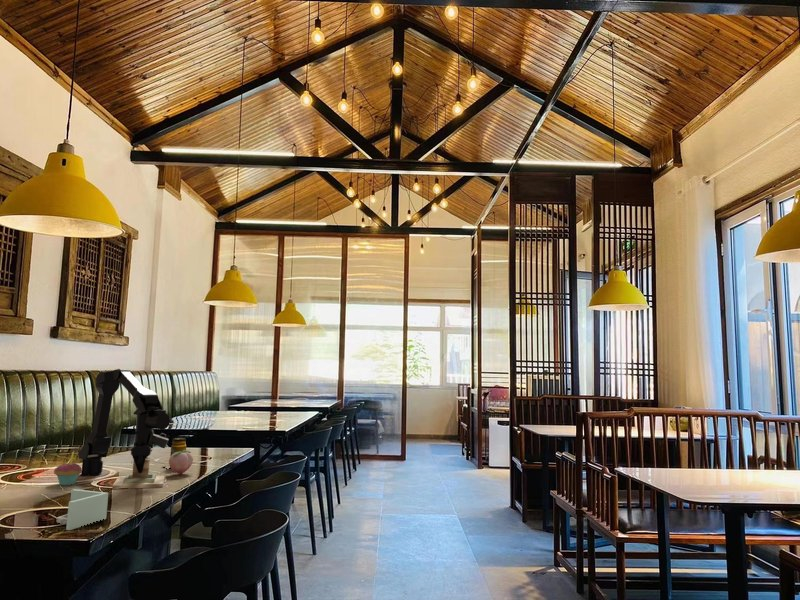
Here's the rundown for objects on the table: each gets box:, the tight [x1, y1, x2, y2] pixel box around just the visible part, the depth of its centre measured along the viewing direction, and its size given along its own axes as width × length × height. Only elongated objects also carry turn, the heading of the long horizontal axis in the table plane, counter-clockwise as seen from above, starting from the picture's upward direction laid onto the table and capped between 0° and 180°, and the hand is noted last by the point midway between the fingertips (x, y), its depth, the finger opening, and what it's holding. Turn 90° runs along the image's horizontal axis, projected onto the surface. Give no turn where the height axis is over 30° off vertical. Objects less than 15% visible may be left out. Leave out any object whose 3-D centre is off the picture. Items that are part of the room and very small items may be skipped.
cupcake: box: [53, 449, 82, 486], centre depth 199 cm, size 9×8×12 cm
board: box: [111, 473, 166, 490], centre depth 202 cm, size 16×16×2 cm
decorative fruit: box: [168, 449, 194, 475], centre depth 221 cm, size 9×8×10 cm
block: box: [131, 457, 151, 478], centre depth 202 cm, size 5×5×6 cm
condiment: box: [162, 437, 187, 468], centre depth 237 cm, size 7×8×12 cm
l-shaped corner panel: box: [56, 489, 109, 531], centre depth 150 cm, size 12×12×8 cm
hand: (140, 471), depth 202 cm, fingers closed on block, 5 cm apart
